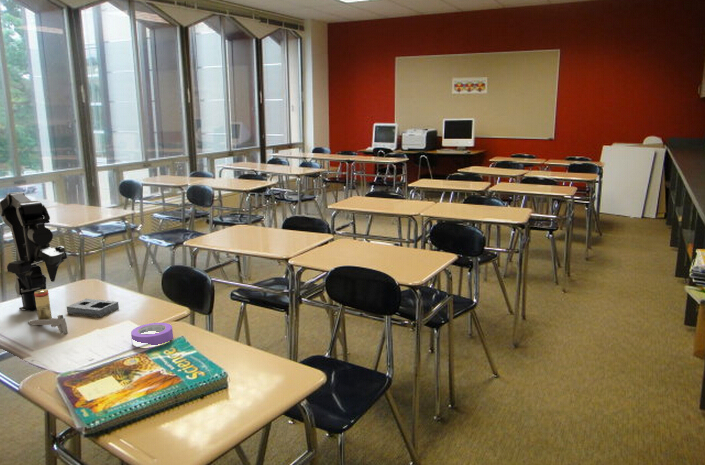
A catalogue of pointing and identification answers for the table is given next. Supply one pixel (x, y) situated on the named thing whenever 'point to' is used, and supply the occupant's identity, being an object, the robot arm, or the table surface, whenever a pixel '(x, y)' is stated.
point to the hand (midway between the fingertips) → (41, 285)
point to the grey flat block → (92, 307)
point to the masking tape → (153, 339)
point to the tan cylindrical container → (43, 304)
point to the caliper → (53, 323)
